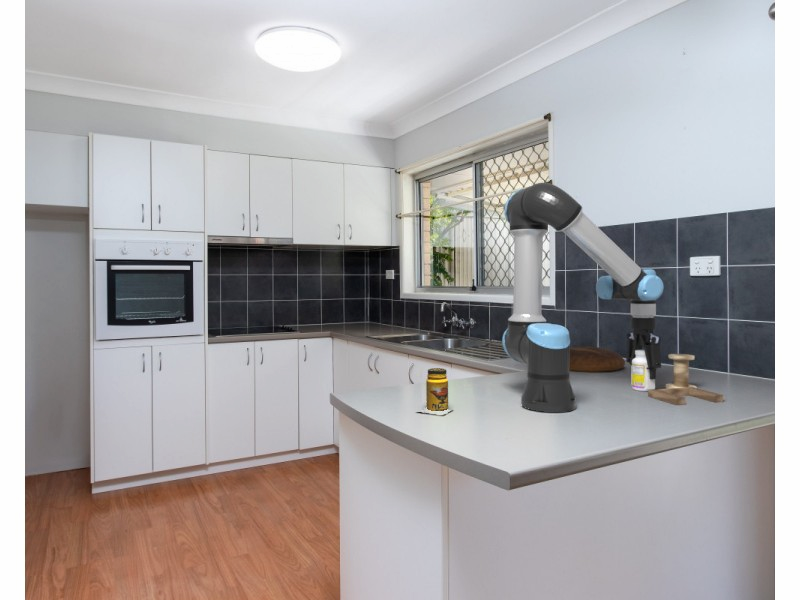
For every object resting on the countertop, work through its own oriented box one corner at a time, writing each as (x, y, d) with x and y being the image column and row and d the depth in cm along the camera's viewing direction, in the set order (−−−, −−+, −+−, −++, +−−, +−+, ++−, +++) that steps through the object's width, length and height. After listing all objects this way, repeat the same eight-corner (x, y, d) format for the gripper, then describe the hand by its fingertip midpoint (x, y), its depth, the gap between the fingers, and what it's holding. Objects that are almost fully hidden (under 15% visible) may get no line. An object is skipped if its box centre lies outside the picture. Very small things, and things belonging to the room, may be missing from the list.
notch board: (676, 405, 153) (676, 398, 153) (648, 396, 165) (648, 389, 165) (723, 401, 156) (723, 394, 156) (692, 393, 168) (692, 387, 168)
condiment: (443, 416, 143) (442, 372, 143) (415, 413, 147) (414, 369, 147) (454, 410, 149) (453, 368, 149) (427, 407, 154) (426, 366, 153)
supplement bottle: (649, 387, 177) (650, 349, 177) (657, 392, 171) (657, 352, 170) (629, 387, 178) (629, 349, 178) (635, 391, 172) (635, 352, 171)
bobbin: (679, 393, 169) (679, 357, 168) (659, 387, 178) (659, 354, 177) (703, 391, 171) (703, 356, 170) (682, 386, 180) (682, 353, 179)
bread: (592, 376, 202) (592, 353, 201) (540, 366, 225) (540, 346, 225) (640, 369, 216) (640, 347, 215) (586, 361, 239) (586, 341, 239)
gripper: (674, 318, 165) (674, 392, 166) (633, 314, 184) (633, 380, 185) (653, 319, 163) (653, 393, 164) (614, 315, 182) (614, 381, 183)
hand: (642, 386), depth 174 cm, fingers closed on supplement bottle, 7 cm apart
